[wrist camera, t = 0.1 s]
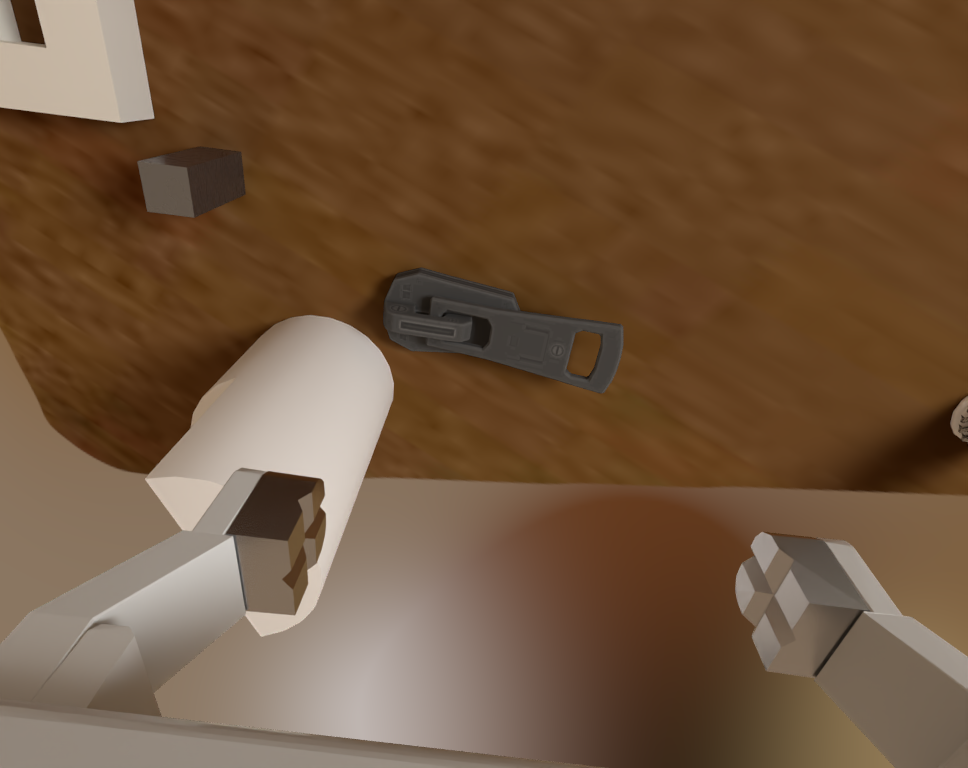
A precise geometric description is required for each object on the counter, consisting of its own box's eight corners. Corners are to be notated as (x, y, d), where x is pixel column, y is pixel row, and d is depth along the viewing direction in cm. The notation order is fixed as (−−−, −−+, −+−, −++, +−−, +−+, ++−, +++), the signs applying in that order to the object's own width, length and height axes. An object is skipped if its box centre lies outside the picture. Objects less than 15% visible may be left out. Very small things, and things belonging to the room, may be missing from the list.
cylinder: (362, 299, 60) (257, 455, 35) (413, 425, 68) (356, 623, 43) (224, 334, 63) (40, 500, 38) (289, 451, 71) (171, 649, 46)
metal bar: (199, 146, 52) (137, 161, 44) (240, 151, 52) (186, 167, 44) (205, 189, 54) (147, 211, 46) (245, 194, 54) (194, 217, 46)
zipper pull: (608, 401, 57) (372, 365, 56) (599, 370, 63) (385, 337, 62) (632, 323, 52) (376, 283, 52) (621, 298, 58) (390, 262, 57)
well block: (-86, -129, 43) (-153, -152, 39) (115, -103, 43) (71, -122, 39) (-15, 96, 51) (-64, 99, 47) (154, 118, 51) (121, 122, 47)
